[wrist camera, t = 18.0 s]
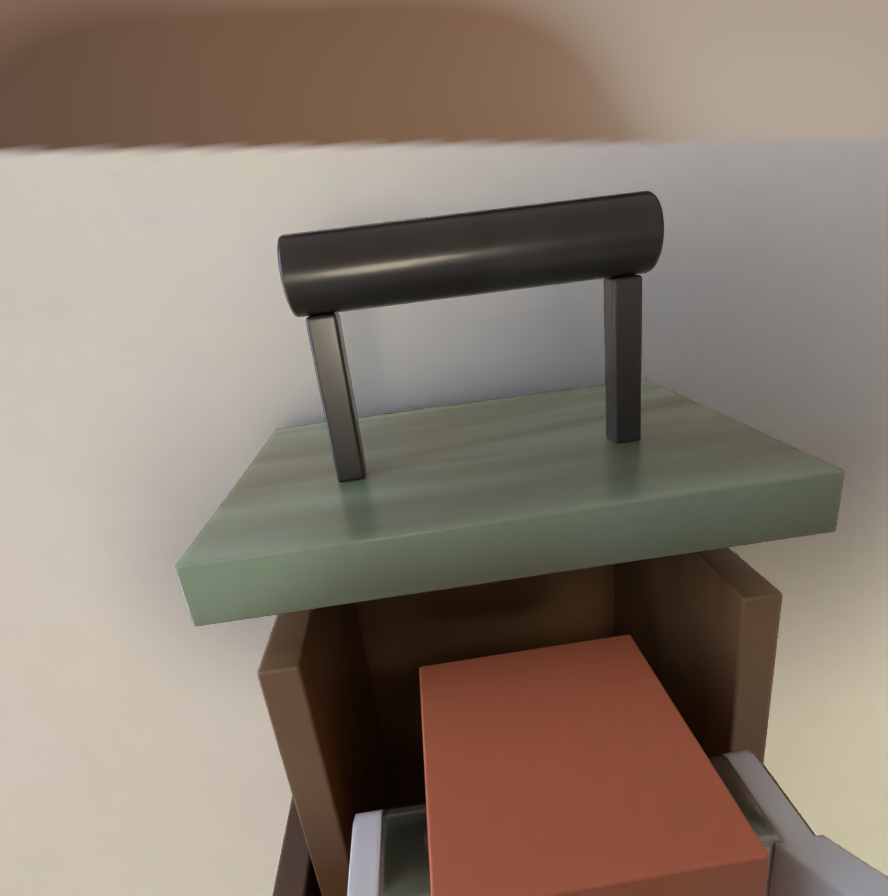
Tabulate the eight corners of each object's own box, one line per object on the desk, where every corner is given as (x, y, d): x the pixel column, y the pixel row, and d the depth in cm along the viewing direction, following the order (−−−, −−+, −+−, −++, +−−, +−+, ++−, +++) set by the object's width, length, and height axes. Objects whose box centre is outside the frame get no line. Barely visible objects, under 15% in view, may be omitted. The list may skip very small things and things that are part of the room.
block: (418, 665, 11) (431, 914, 7) (630, 632, 11) (772, 855, 7) (444, 819, 12) (468, 1102, 8) (630, 788, 12) (747, 1049, 8)
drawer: (235, 254, 14) (65, 243, 7) (647, 204, 15) (893, 144, 7) (353, 760, 20) (328, 1038, 13) (642, 714, 21) (774, 957, 14)
